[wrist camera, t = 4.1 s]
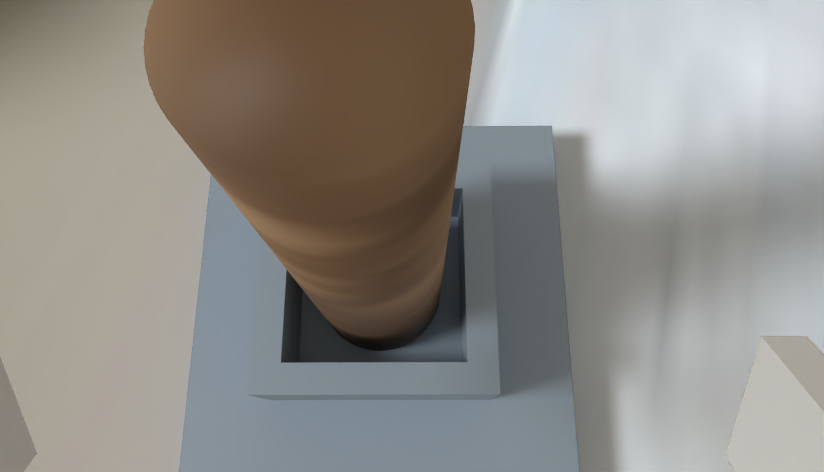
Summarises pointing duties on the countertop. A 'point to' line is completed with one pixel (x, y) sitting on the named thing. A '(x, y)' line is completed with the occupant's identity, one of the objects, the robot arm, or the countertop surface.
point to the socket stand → (403, 367)
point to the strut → (329, 139)
